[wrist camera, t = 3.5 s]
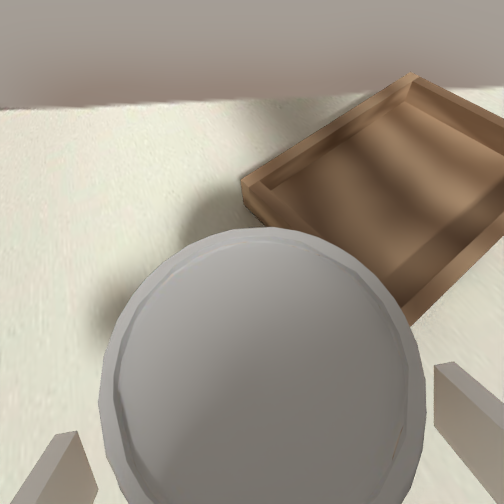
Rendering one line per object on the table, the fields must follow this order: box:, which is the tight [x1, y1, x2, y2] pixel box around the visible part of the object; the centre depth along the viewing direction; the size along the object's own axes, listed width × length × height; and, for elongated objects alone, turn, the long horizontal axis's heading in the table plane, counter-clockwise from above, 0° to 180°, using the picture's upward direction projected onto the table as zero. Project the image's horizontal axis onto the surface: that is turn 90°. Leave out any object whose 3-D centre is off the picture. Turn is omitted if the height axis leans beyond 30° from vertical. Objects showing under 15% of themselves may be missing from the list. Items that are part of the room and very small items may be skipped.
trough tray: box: [241, 72, 504, 327], centre depth 24 cm, size 20×15×3 cm
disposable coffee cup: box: [98, 227, 427, 504], centre depth 14 cm, size 10×10×12 cm
